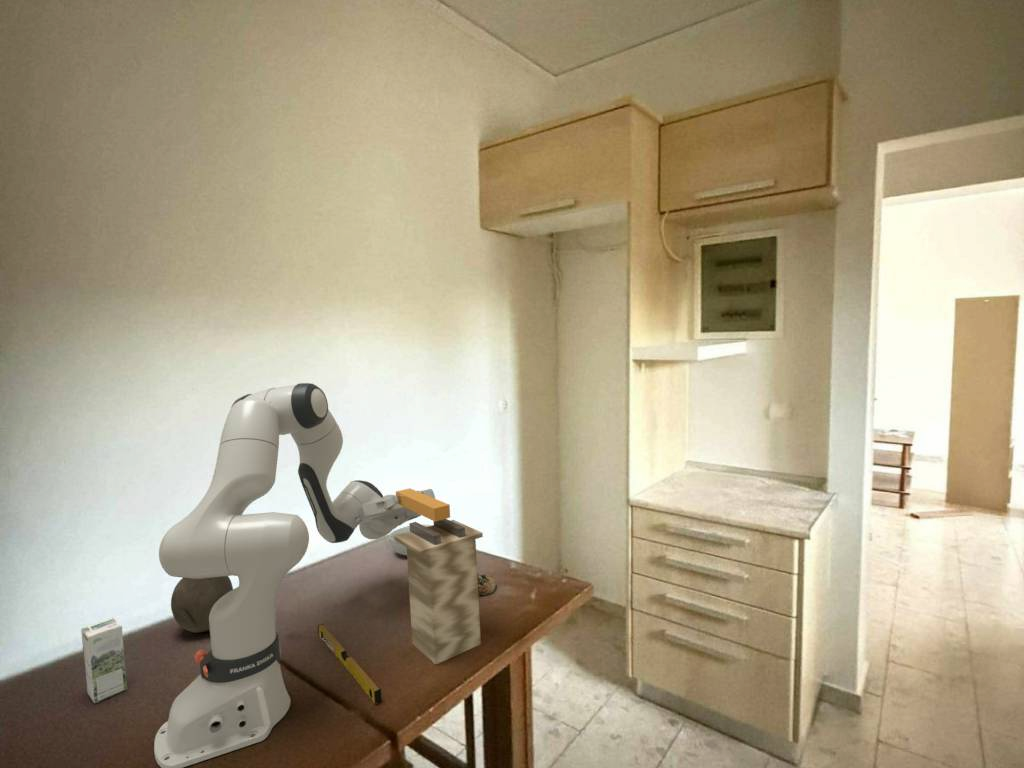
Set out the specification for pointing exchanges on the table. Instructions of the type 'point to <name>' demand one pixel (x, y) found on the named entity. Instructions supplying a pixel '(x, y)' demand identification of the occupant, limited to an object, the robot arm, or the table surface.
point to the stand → (443, 588)
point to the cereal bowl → (396, 545)
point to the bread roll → (485, 585)
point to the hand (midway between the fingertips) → (407, 496)
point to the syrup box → (104, 659)
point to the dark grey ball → (197, 601)
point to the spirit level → (351, 665)
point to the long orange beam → (424, 504)
